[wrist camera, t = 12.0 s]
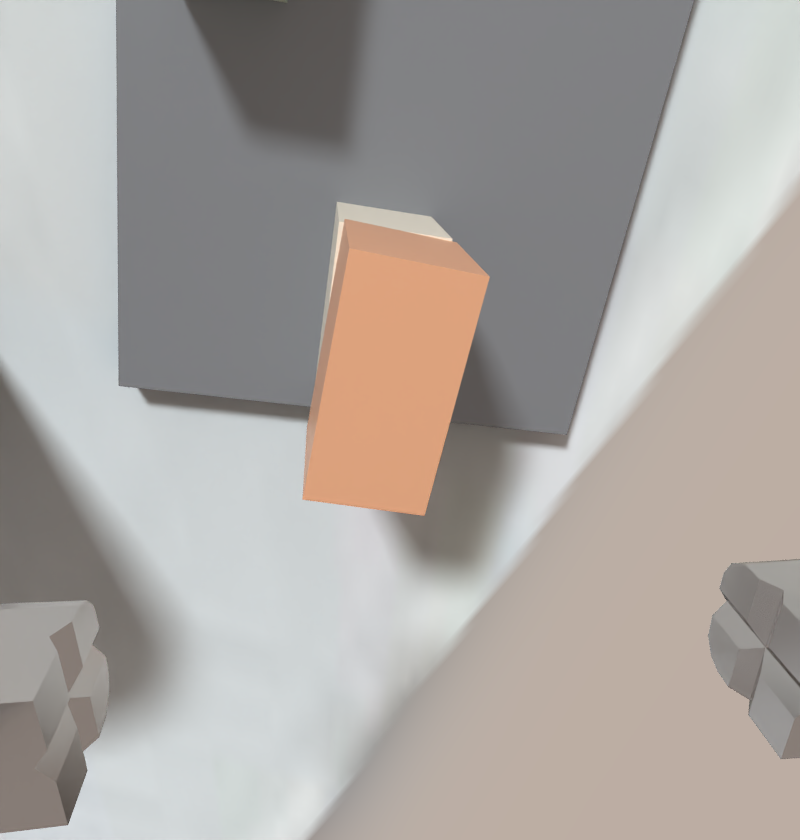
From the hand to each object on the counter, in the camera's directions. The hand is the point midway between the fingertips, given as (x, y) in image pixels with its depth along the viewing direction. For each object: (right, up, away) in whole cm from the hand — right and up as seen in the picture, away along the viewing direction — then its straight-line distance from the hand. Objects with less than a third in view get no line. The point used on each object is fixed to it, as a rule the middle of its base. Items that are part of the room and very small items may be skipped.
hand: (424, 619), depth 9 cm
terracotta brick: (-1, +5, +10) cm, 11 cm away
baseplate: (0, +12, +12) cm, 17 cm away
